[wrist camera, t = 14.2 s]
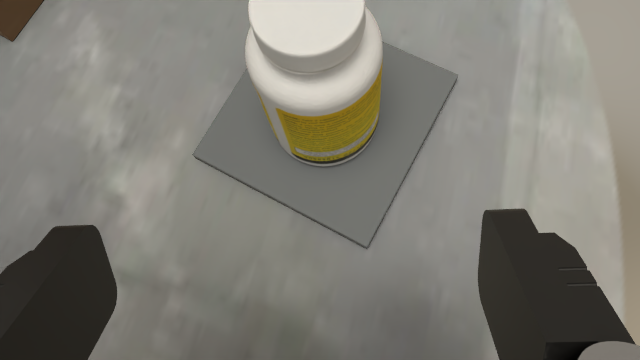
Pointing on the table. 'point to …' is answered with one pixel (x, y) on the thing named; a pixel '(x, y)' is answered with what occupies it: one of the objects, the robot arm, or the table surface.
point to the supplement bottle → (316, 75)
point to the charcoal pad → (343, 179)
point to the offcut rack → (15, 16)
